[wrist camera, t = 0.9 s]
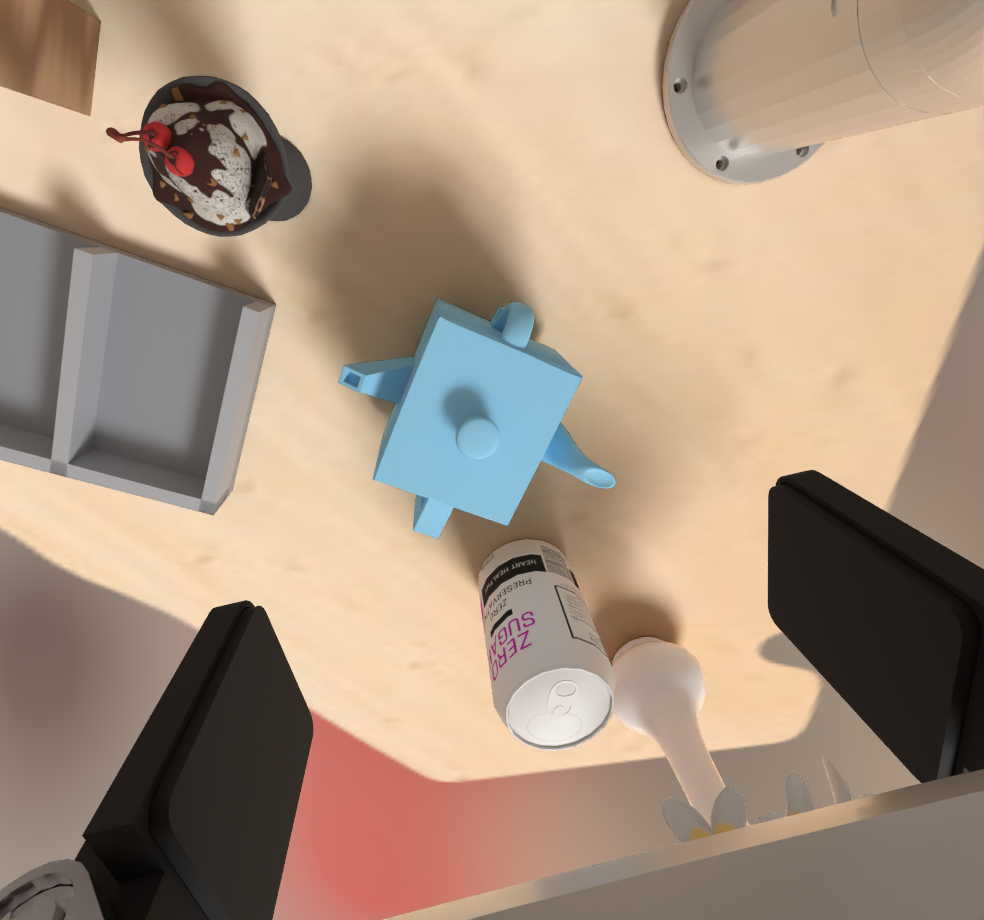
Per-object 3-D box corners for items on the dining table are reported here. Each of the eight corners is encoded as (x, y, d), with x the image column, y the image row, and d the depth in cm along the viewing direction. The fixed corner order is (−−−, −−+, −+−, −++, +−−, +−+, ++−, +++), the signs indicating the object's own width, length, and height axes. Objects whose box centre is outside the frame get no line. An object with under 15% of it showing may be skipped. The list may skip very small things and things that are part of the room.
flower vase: (756, 641, 54) (993, 940, 31) (605, 738, 57) (720, 1075, 34) (691, 557, 50) (915, 837, 27) (530, 668, 53) (607, 1004, 30)
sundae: (193, 148, 34) (31, 91, 20) (289, 99, 34) (191, 7, 20) (253, 252, 37) (146, 265, 23) (344, 208, 36) (290, 194, 22)
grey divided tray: (-59, 186, 33) (-120, 181, 30) (276, 304, 38) (259, 312, 34) (-66, 410, 38) (-118, 429, 35) (232, 490, 43) (213, 515, 39)
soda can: (558, 615, 51) (606, 758, 37) (470, 609, 49) (486, 755, 36) (578, 539, 48) (638, 664, 34) (485, 530, 46) (508, 656, 33)
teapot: (396, 239, 37) (382, 243, 27) (622, 344, 42) (686, 381, 31) (323, 443, 42) (288, 512, 32) (532, 517, 46) (562, 599, 36)
